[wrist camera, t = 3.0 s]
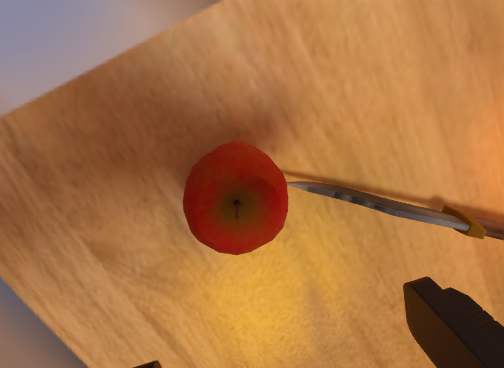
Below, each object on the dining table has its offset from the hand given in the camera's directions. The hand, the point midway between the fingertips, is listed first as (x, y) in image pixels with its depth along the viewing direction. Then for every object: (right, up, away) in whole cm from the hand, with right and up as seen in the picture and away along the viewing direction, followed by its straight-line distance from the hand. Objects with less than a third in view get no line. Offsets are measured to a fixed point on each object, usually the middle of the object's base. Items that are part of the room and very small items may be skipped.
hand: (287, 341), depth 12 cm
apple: (-3, +6, +15) cm, 17 cm away
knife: (+12, +4, +19) cm, 23 cm away
